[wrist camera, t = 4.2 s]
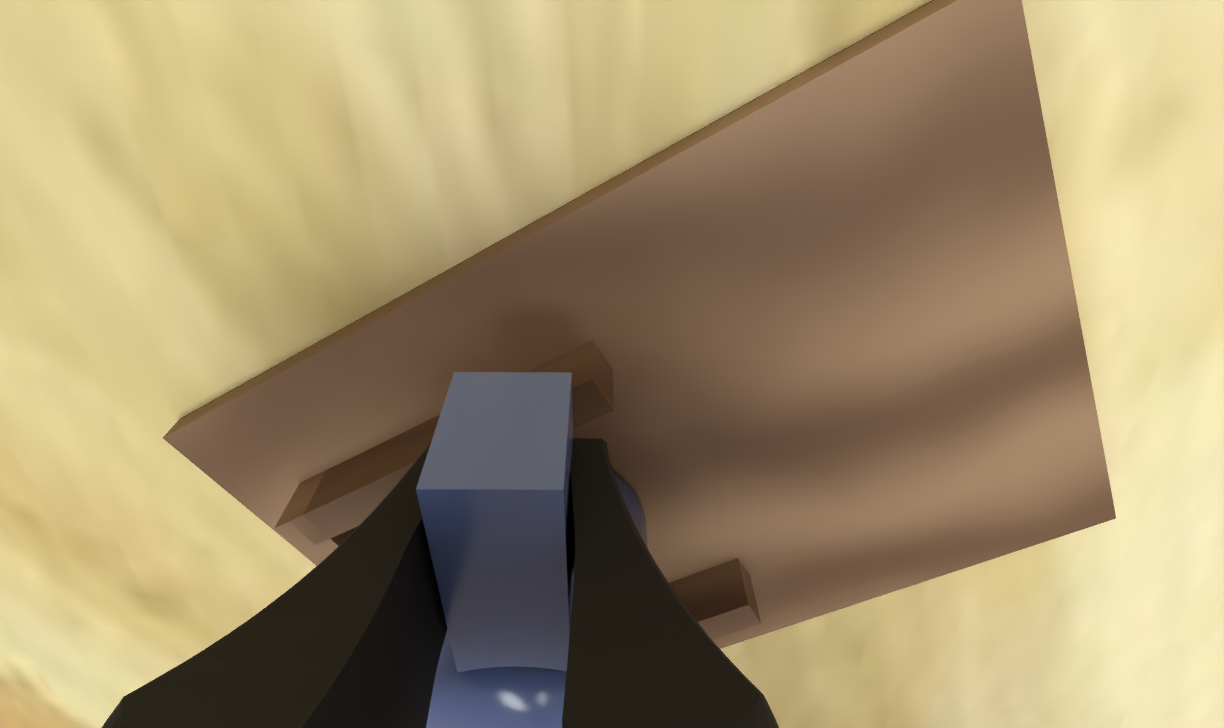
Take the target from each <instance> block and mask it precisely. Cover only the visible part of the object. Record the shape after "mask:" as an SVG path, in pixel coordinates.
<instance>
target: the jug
mask: <svg viewBox="0 0 1224 728" xmlns="http://www.w3.org/2000/svg"><path fill="white" fill-rule="evenodd" d="M573 438H574V437H573V401H572V373H559V372H454V374H453V377H452V380H451V383H450V386H449V389H448V392H447V395H446V398H445V402H444V405H443V408H442V411H441V414H440V417H439V420H438V423H437V426H436V429H435V432H434V435H433V438H432V442H431V445H430V448H429V451H428V454H427V457H426V460H425V463H424V466H423V469H422V472H421V475H420V478H419V481H418V485H417V488H416V492H417V496H418V501H419V505H420V509H421V514H422V518H423V523H424V527H425V531H426V536H427V540H428V545H429V549H430V554H431V558H432V562H433V567H434V571H435V576H436V580H437V584H438V589H439V593H440V598H441V602H442V607H443V611H444V615H445V620H446V624H447V632H446V636H445V639H444V643H443V646H442V650H441V654H440V658H439V662H438V666H437V670H436V675H435V680H434V685H433V691H432V696H431V702H430V708H429V713H428V719H427V724H426V728H562V715H563V705H564V694H565V683H566V672H567V661H568V648H569V635H570V623H571V609H572V594H573V580H574V572H573V543H572V509H571V474H570V466H571V456H572V446H573ZM614 476H615V479H616V482H617V484H618V487H619V490H620V492H621V495H622V497H623V499H624V502H625V504H626V506H627V508H628V511H629V513H630V515H631V517H632V519H633V522H634V524H635V526H636V528H637V530H638V532H639V533H640V535H641V537H642V539H643V541H644V543H645V545H646V547H647V548H648V543H647V529H646V517H645V513H644V509H643V507H642V505H641V502H640V500H639V499H638V497H637V496H636V494H635V492H634V491H633V490H632V489H631V488H630V487H629V486H628V485H627V483H625V482H624V481H623V480H622V479H621V478H619V477H618V476H617V475H615V474H614Z"/></svg>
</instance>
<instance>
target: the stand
mask: <svg viewBox="0 0 1224 728" xmlns="http://www.w3.org/2000/svg"><path fill="white" fill-rule="evenodd" d="M454 372H559V373H572V401H573V437H574V438H602V439H603V440H604V441H605V442H607V449H608V454H609V459H610V463H611V466H612V470H613V473H614V474H615V475H617V476H618V477H619V478H621V479H622V480H623V481H624V482H625V483H627V485H628V486H629V487H630V488H631V489H632V490H633V491H634V492H635V494H636V496H637V497H638V499H639V500H640V502H641V505H642V507H643V509H644V513H645V517H646V529H647V543H648V550H649V552H650V554H651V555H652V557H653V559H654V561H655V562H656V564H657V565H658V567H659V569H660V570H661V572H662V573H663V575H664V576H665V578H666V580H667V581H668V583H669V584H670V586H671V587H672V588H673V590H674V591H675V593H676V594H677V596H678V597H679V599H680V600H681V601H682V603H683V604H684V605H685V607H686V608H687V609H688V610H689V612H690V613H691V614H692V616H693V617H694V618H695V619H696V621H697V622H698V623H699V624H700V626H701V627H702V628H703V630H704V631H705V632H706V633H707V635H708V636H709V637H710V638H711V639H712V641H713V642H714V643H715V644H716V645H717V646H718V647H719V649H720V648H723V647H726V646H729V645H732V644H735V643H738V642H741V641H744V640H747V639H750V638H753V637H757V636H760V635H763V634H766V633H769V632H772V631H775V630H778V629H781V628H784V627H787V626H790V625H793V624H796V623H799V622H802V621H805V620H808V619H811V618H814V617H817V616H820V615H823V614H826V613H830V612H833V611H836V610H839V609H842V608H845V607H848V606H851V605H854V604H857V603H860V602H863V601H866V600H869V599H872V598H875V597H878V596H881V595H884V594H887V593H890V592H893V591H896V590H899V589H903V588H906V587H909V586H912V585H915V584H918V583H921V582H924V581H927V580H930V579H933V578H936V577H939V576H942V575H945V574H948V573H951V572H954V571H957V570H960V569H963V568H966V567H969V566H972V565H976V564H979V563H982V562H985V561H988V560H991V559H994V558H997V557H1000V556H1003V555H1006V554H1009V553H1012V552H1015V551H1018V550H1021V549H1024V548H1027V547H1030V546H1033V545H1036V544H1039V543H1042V542H1045V541H1049V540H1052V539H1055V538H1058V537H1061V536H1064V535H1067V534H1070V533H1073V532H1076V531H1079V530H1082V529H1085V528H1088V527H1091V526H1094V525H1097V524H1100V523H1103V522H1106V521H1109V520H1112V519H1115V518H1116V516H1115V510H1114V505H1113V499H1112V494H1111V488H1110V483H1109V477H1108V472H1107V466H1106V461H1105V455H1104V450H1103V444H1102V439H1101V433H1100V428H1099V422H1098V417H1097V411H1096V406H1095V401H1094V395H1093V390H1092V384H1091V379H1090V373H1089V368H1088V362H1087V357H1086V351H1085V346H1084V340H1083V335H1082V329H1081V324H1080V318H1079V313H1078V307H1077V302H1076V296H1075V291H1074V286H1073V280H1072V275H1071V269H1070V264H1069V258H1068V253H1067V247H1066V242H1065V236H1064V231H1063V225H1062V220H1061V214H1060V209H1059V203H1058V198H1057V192H1056V187H1055V181H1054V176H1053V170H1052V165H1051V160H1050V154H1049V149H1048V143H1047V138H1046V132H1045V127H1044V121H1043V116H1042V110H1041V105H1040V99H1039V94H1038V88H1037V83H1036V77H1035V72H1034V66H1033V61H1032V55H1031V50H1030V44H1029V39H1028V34H1027V28H1026V23H1025V17H1024V12H1023V6H1022V1H1021V0H933V1H931V2H929V3H927V4H926V5H924V6H922V7H920V8H918V9H917V10H915V11H913V12H911V13H909V14H908V15H906V16H904V17H902V18H900V19H899V20H897V21H895V22H893V23H892V24H890V25H888V26H886V27H884V28H883V29H881V30H879V31H877V32H875V33H874V34H872V35H870V36H868V37H866V38H865V39H863V40H861V41H859V42H857V43H856V44H854V45H852V46H850V47H848V48H847V49H845V50H843V51H841V52H839V53H838V54H836V55H834V56H832V57H830V58H829V59H827V60H825V61H823V62H821V63H820V64H818V65H816V66H814V67H812V68H811V69H809V70H807V71H805V72H803V73H802V74H800V75H798V76H796V77H794V78H793V79H791V80H789V81H787V82H785V83H784V84H782V85H780V86H778V87H776V88H775V89H773V90H771V91H769V92H767V93H766V94H764V95H762V96H760V97H758V98H757V99H755V100H753V101H751V102H749V103H748V104H746V105H744V106H742V107H740V108H739V109H737V110H735V111H733V112H731V113H730V114H728V115H726V116H724V117H722V118H721V119H719V120H717V121H715V122H713V123H712V124H710V125H708V126H706V127H704V128H703V129H701V130H699V131H697V132H695V133H694V134H692V135H690V136H688V137H686V138H685V139H683V140H681V141H679V142H677V143H676V144H674V145H672V146H670V147H668V148H667V149H665V150H663V151H661V152H660V153H658V154H656V155H654V156H652V157H651V158H649V159H647V160H645V161H643V162H642V163H640V164H638V165H636V166H634V167H633V168H631V169H629V170H627V171H625V172H624V173H622V174H620V175H618V176H616V177H615V178H613V179H611V180H609V181H607V182H606V183H604V184H602V185H600V186H598V187H597V188H595V189H593V190H591V191H589V192H588V193H586V194H584V195H582V196H580V197H579V198H577V199H575V200H573V201H571V202H570V203H568V204H566V205H564V206H562V207H561V208H559V209H557V210H555V211H553V212H552V213H550V214H548V215H546V216H544V217H543V218H541V219H539V220H537V221H535V222H534V223H532V224H530V225H528V226H526V227H525V228H523V229H521V230H519V231H517V232H516V233H514V234H512V235H510V236H508V237H507V238H505V239H503V240H501V241H499V242H498V243H496V244H494V245H492V246H490V247H489V248H487V249H485V250H483V251H481V252H480V253H478V254H476V255H474V256H472V257H471V258H469V259H467V260H465V261H463V262H462V263H460V264H458V265H456V266H454V267H453V268H451V269H449V270H447V271H445V272H444V273H442V274H440V275H438V276H436V277H435V278H433V279H431V280H429V281H428V282H426V283H424V284H422V285H420V286H419V287H417V288H415V289H413V290H411V291H410V292H408V293H406V294H404V295H402V296H401V297H399V298H397V299H395V300H393V301H392V302H390V303H388V304H386V305H384V306H383V307H381V308H379V309H377V310H375V311H374V312H372V313H370V314H368V315H366V316H365V317H363V318H361V319H359V320H357V321H356V322H354V323H352V324H350V325H348V326H347V327H345V328H343V329H341V330H339V331H338V332H336V333H334V334H332V335H330V336H329V337H327V338H325V339H323V340H321V341H320V342H318V343H316V344H314V345H312V346H311V347H309V348H307V349H305V350H303V351H302V352H300V353H298V354H296V355H294V356H293V357H291V358H289V359H287V360H285V361H284V362H282V363H280V364H278V365H276V366H275V367H273V368H271V369H269V370H267V371H266V372H264V373H262V374H260V375H258V376H257V377H255V378H253V379H251V380H249V381H248V382H246V383H244V384H242V385H240V386H239V387H237V388H235V389H233V390H231V391H230V392H228V393H226V394H224V395H222V396H221V397H219V398H217V399H215V400H213V401H212V402H210V403H208V404H206V405H204V406H203V407H201V408H199V409H197V410H196V411H194V412H192V413H190V414H188V415H187V416H185V417H183V418H181V419H179V420H178V422H177V423H176V424H175V425H174V426H173V427H172V428H171V429H170V430H169V431H168V433H167V434H166V435H165V436H164V437H163V439H165V440H166V441H167V442H168V443H169V444H171V445H172V446H173V447H174V448H176V449H177V450H178V451H179V452H180V453H182V454H183V455H184V456H185V457H186V458H188V459H189V460H190V461H191V462H192V463H194V464H195V465H196V466H197V467H198V468H200V469H201V470H202V471H203V472H204V473H206V474H207V475H208V476H209V477H210V478H212V479H213V480H214V481H215V482H216V483H218V484H219V485H220V486H221V487H222V488H224V489H225V490H226V491H227V492H228V493H230V494H231V495H232V496H233V497H235V498H236V499H237V500H238V501H239V502H241V503H242V504H243V505H244V506H245V507H247V508H248V509H249V510H250V511H251V512H253V513H254V514H255V515H256V516H257V517H259V518H260V519H261V520H262V521H263V522H265V523H266V524H267V525H268V526H269V527H271V528H272V529H273V530H274V531H275V532H277V533H278V534H279V535H280V536H281V537H283V538H284V539H285V540H286V541H288V542H289V543H290V544H291V545H292V546H294V547H295V548H296V549H297V550H298V551H300V552H301V553H302V554H303V555H304V556H306V557H307V558H308V559H309V560H310V561H312V562H313V563H314V564H315V565H316V566H318V565H319V564H320V563H321V562H322V561H323V560H324V559H325V558H326V557H328V556H329V555H330V554H331V553H332V552H333V551H334V550H335V549H336V548H337V547H338V546H339V545H340V544H341V543H342V542H343V541H344V540H345V539H346V538H347V537H348V536H349V535H350V534H351V533H352V532H353V531H354V530H355V529H356V528H357V527H358V526H359V525H360V524H361V523H362V522H363V521H364V520H365V519H366V518H367V517H368V516H369V515H370V514H371V513H372V511H373V510H374V509H375V508H376V507H377V506H378V505H379V504H380V503H381V501H382V500H383V499H384V498H385V497H386V496H387V495H388V493H389V492H390V491H391V490H392V489H393V488H394V487H395V485H396V484H397V483H398V482H399V481H400V479H401V478H402V477H403V476H404V475H405V473H406V472H407V471H408V470H409V469H410V467H411V466H412V465H413V464H414V462H415V461H416V460H417V459H418V457H419V456H420V455H421V454H422V452H423V451H424V450H425V449H426V447H427V446H428V445H429V443H430V442H431V441H432V438H433V435H434V432H435V429H436V426H437V423H438V420H439V417H440V414H441V411H442V408H443V405H444V402H445V398H446V395H447V392H448V389H449V386H450V383H451V380H452V377H453V374H454Z"/></svg>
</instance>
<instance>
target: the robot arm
mask: <svg viewBox="0 0 1224 728" xmlns="http://www.w3.org/2000/svg"><path fill="white" fill-rule="evenodd" d="M431 442H432V441H431ZM431 442H430V443H429V445H428V446H427V447H426V449H425V450H424V451H423V452H422V454H421V455H420V456H419V457H418V459H417V460H416V461H415V462H414V464H413V465H412V466H411V467H410V469H409V470H408V471H407V472H406V473H405V475H404V476H403V477H402V478H401V479H400V481H399V482H398V483H397V484H396V485H395V487H394V488H393V489H392V490H391V491H390V492H389V493H388V495H387V496H386V497H385V498H384V499H383V500H382V501H381V503H380V504H379V505H378V506H377V507H376V508H375V509H374V510H373V511H372V513H371V514H370V515H369V516H368V517H367V518H366V519H365V520H364V521H363V522H362V523H361V524H360V525H359V526H358V527H357V528H356V529H355V530H354V531H353V532H352V533H351V534H350V535H349V536H348V537H347V538H346V539H345V540H344V541H343V542H342V543H341V544H340V545H339V546H338V547H337V548H336V549H335V550H334V551H333V552H332V553H331V554H330V555H329V556H328V557H326V558H325V559H324V560H323V561H322V562H321V563H320V564H319V565H318V566H316V567H315V568H314V569H313V570H312V571H311V572H310V573H308V574H307V575H306V576H305V577H304V578H303V579H301V580H300V581H299V582H298V583H297V584H295V585H294V586H293V587H292V588H290V589H289V590H288V591H287V592H285V593H284V594H283V595H281V596H280V597H279V598H277V599H276V600H275V601H273V602H272V603H271V604H270V605H268V606H267V607H266V608H264V609H263V610H262V611H260V612H259V613H258V614H256V615H255V616H254V617H252V618H251V619H249V620H248V621H247V622H245V623H244V624H242V625H241V626H239V627H238V628H236V629H235V630H234V631H232V632H231V633H229V634H228V635H226V636H225V637H223V638H222V639H220V640H218V641H217V642H215V643H214V644H212V645H211V646H209V647H208V648H206V649H205V650H203V651H201V652H200V653H198V654H197V655H195V656H193V657H192V658H190V659H189V660H187V661H185V662H184V663H182V664H180V665H178V666H177V667H175V668H173V669H171V670H170V671H168V672H166V673H165V674H163V675H161V676H159V677H158V678H156V679H154V680H153V681H151V682H149V683H147V684H146V685H144V686H142V687H140V688H139V689H137V690H135V691H133V692H131V693H130V694H128V695H126V696H124V697H123V699H122V700H121V701H120V703H119V704H118V706H117V707H116V708H115V710H114V711H113V712H112V714H111V715H110V717H109V718H108V719H107V721H106V722H105V723H104V725H103V727H102V728H426V724H427V719H428V713H429V708H430V702H431V696H432V691H433V685H434V680H435V675H436V670H437V666H438V662H439V658H440V654H441V650H442V646H443V643H444V639H445V636H446V632H447V624H446V620H445V615H444V611H443V607H442V602H441V598H440V593H439V589H438V584H437V580H436V576H435V571H434V567H433V562H432V558H431V554H430V549H429V545H428V540H427V536H426V531H425V527H424V523H423V518H422V514H421V509H420V505H419V501H418V496H417V492H416V488H417V485H418V481H419V478H420V475H421V472H422V469H423V466H424V463H425V460H426V457H427V454H428V451H429V448H430V445H431ZM570 474H571V509H572V543H573V572H574V580H573V594H572V609H571V623H570V635H569V648H568V661H567V672H566V683H565V694H564V705H563V715H562V728H779V727H778V724H777V722H776V720H775V717H774V715H773V713H772V711H771V709H770V707H769V705H768V703H767V701H766V699H765V697H764V695H763V694H762V693H761V692H760V691H759V690H758V689H757V688H756V687H755V686H754V685H753V684H752V683H751V682H750V681H749V680H748V679H747V678H746V677H745V676H744V675H743V674H742V673H741V672H740V670H739V669H738V668H737V667H736V666H735V665H734V664H733V663H732V662H731V661H730V660H729V659H728V658H727V657H726V655H725V654H724V653H723V652H722V651H721V650H720V649H719V647H718V646H717V645H716V644H715V643H714V642H713V641H712V639H711V638H710V637H709V636H708V635H707V633H706V632H705V631H704V630H703V628H702V627H701V626H700V624H699V623H698V622H697V621H696V619H695V618H694V617H693V616H692V614H691V613H690V612H689V610H688V609H687V608H686V607H685V605H684V604H683V603H682V601H681V600H680V599H679V597H678V596H677V594H676V593H675V591H674V590H673V588H672V587H671V586H670V584H669V583H668V581H667V580H666V578H665V576H664V575H663V573H662V572H661V570H660V569H659V567H658V565H657V564H656V562H655V561H654V559H653V557H652V555H651V554H650V552H649V550H648V548H647V547H646V545H645V543H644V541H643V539H642V537H641V535H640V533H639V532H638V530H637V528H636V526H635V524H634V522H633V519H632V517H631V515H630V513H629V511H628V508H627V506H626V504H625V502H624V499H623V497H622V495H621V492H620V490H619V487H618V484H617V482H616V479H615V476H614V473H613V470H612V466H611V463H610V459H609V454H608V449H607V442H605V441H604V440H603V439H602V438H573V446H572V456H571V466H570Z"/></svg>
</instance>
